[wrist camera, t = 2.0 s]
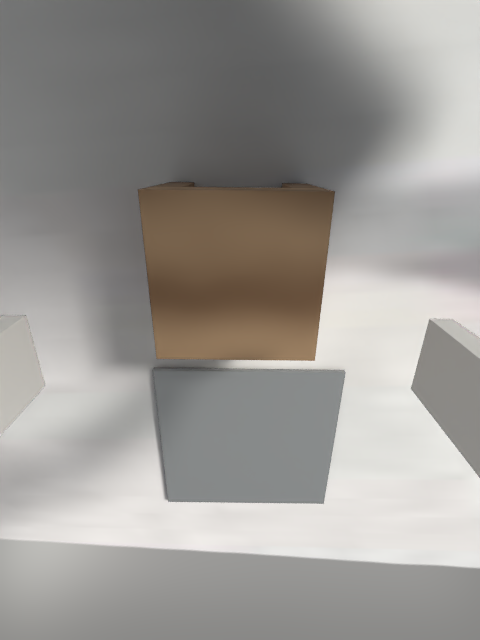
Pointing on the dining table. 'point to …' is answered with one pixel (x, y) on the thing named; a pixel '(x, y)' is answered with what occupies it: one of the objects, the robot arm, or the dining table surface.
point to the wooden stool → (236, 269)
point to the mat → (247, 433)
